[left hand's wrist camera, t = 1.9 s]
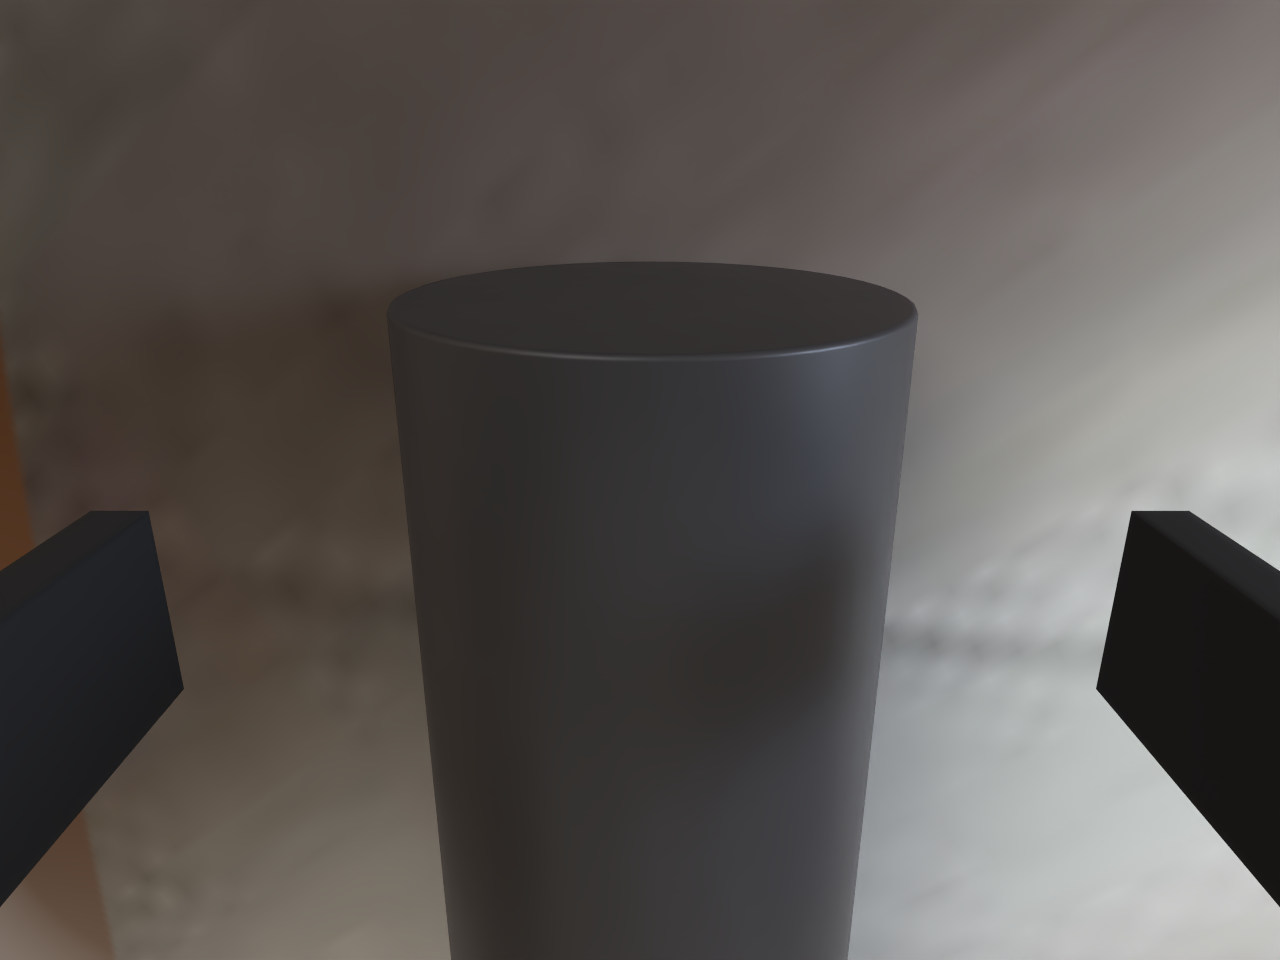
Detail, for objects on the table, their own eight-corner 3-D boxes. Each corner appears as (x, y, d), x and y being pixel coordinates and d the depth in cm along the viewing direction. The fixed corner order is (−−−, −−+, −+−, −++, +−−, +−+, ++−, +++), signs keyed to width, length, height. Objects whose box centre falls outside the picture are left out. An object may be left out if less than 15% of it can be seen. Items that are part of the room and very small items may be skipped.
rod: (447, 260, 19) (305, 355, 11) (854, 261, 19) (1003, 356, 11) (512, 1143, 28) (462, 1525, 21) (781, 1144, 28) (832, 1529, 20)
